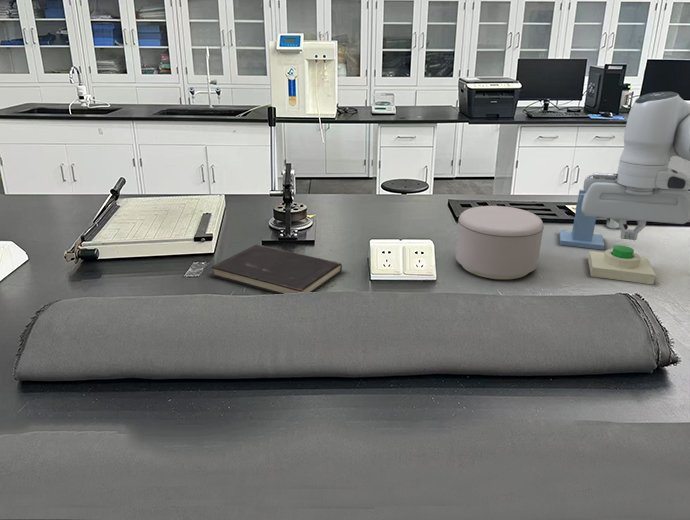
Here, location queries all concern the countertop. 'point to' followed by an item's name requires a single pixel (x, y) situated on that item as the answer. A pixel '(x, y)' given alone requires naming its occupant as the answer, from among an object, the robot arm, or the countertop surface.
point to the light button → (623, 252)
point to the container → (498, 241)
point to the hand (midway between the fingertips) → (628, 238)
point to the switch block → (620, 267)
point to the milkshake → (612, 223)
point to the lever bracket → (582, 230)
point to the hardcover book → (277, 270)
